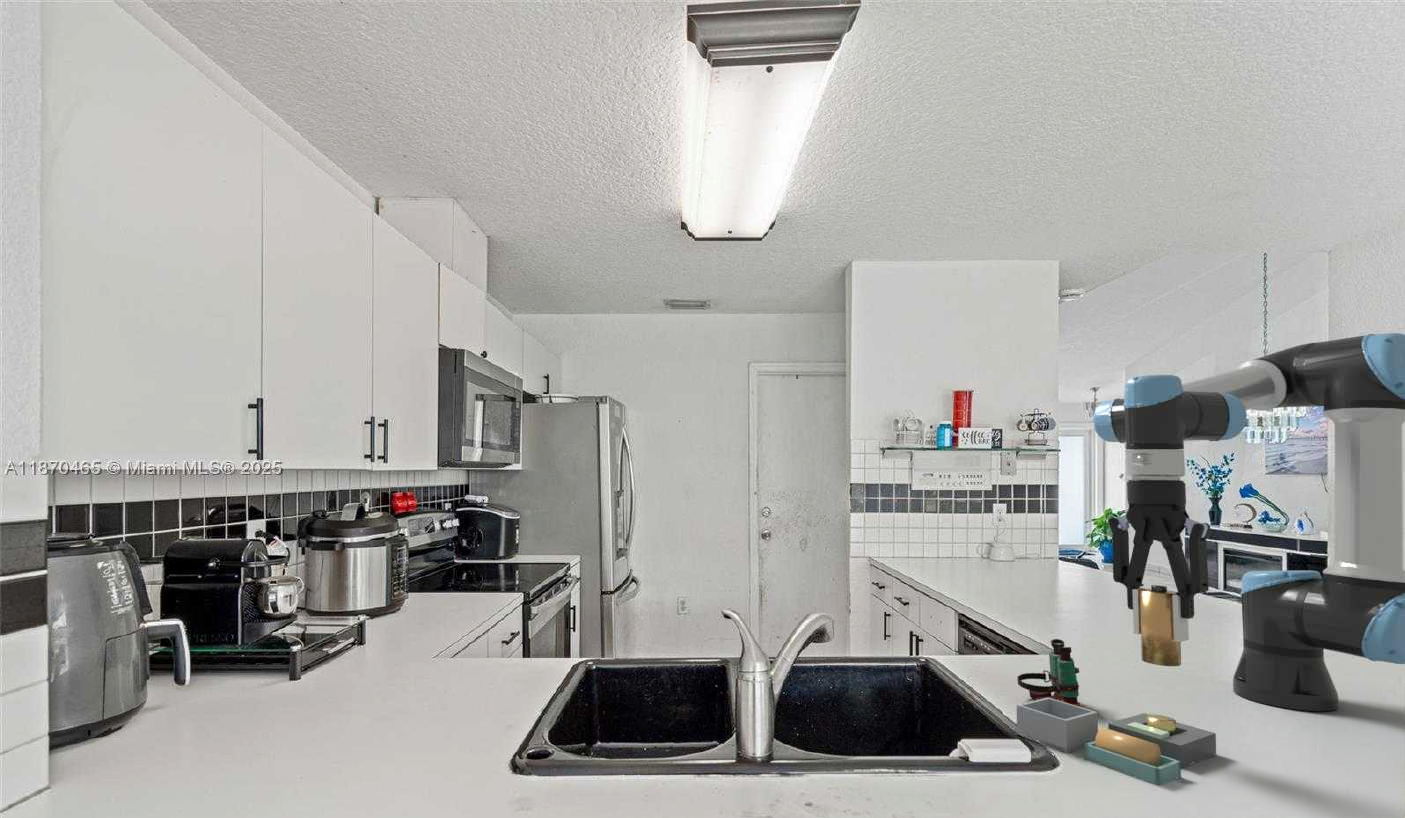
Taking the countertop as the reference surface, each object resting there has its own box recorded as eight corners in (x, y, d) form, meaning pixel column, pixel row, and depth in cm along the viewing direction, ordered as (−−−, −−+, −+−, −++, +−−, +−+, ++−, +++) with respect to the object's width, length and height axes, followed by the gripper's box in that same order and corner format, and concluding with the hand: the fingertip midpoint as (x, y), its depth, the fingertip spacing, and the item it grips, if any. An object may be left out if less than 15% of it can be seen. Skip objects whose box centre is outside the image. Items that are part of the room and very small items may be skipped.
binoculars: (1009, 638, 136) (1068, 637, 134) (1016, 698, 135) (1075, 697, 133) (1020, 650, 127) (1083, 648, 125) (1027, 714, 126) (1091, 713, 124)
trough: (1106, 751, 108) (1105, 722, 108) (1180, 776, 99) (1180, 745, 100) (1084, 758, 105) (1084, 728, 105) (1159, 785, 96) (1158, 752, 97)
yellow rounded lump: (1154, 730, 112) (1154, 712, 112) (1180, 737, 109) (1180, 720, 109) (1142, 734, 110) (1141, 716, 110) (1168, 742, 107) (1167, 724, 107)
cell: (1152, 656, 114) (1150, 582, 114) (1187, 663, 109) (1185, 587, 110) (1134, 659, 111) (1132, 584, 112) (1170, 667, 107) (1168, 589, 108)
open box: (1048, 726, 118) (1048, 697, 118) (1098, 743, 111) (1097, 712, 111) (1016, 735, 114) (1016, 705, 114) (1066, 753, 107) (1066, 720, 107)
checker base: (1144, 732, 116) (1144, 708, 116) (1216, 754, 108) (1215, 728, 108) (1108, 744, 111) (1108, 719, 111) (1181, 768, 102) (1180, 740, 103)
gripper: (1083, 477, 118) (1087, 627, 116) (1209, 480, 103) (1216, 653, 101) (1109, 477, 122) (1114, 622, 120) (1235, 479, 107) (1242, 646, 105)
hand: (1160, 636), depth 110 cm, fingers closed on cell, 5 cm apart
